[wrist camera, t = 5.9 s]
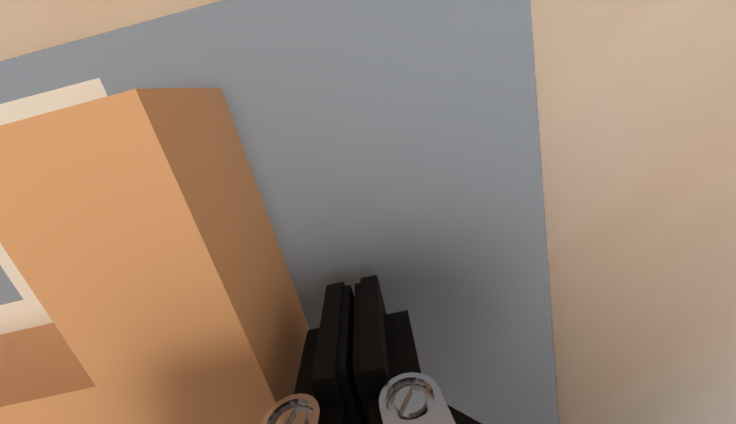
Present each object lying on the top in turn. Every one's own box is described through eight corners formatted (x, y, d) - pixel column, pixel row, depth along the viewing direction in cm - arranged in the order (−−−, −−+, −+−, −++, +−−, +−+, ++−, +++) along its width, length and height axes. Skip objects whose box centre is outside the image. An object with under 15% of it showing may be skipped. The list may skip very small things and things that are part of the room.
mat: (555, 448, 16) (561, 460, 15) (-40, 555, 18) (-51, 568, 17) (516, -74, 9) (524, -82, 9) (-433, 185, 11) (-468, 189, 11)
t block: (359, 465, 15) (359, 589, 12) (46, 524, 16) (-48, 656, 12) (220, 87, 10) (134, 88, 6) (-233, 209, 11) (-545, 274, 7)
